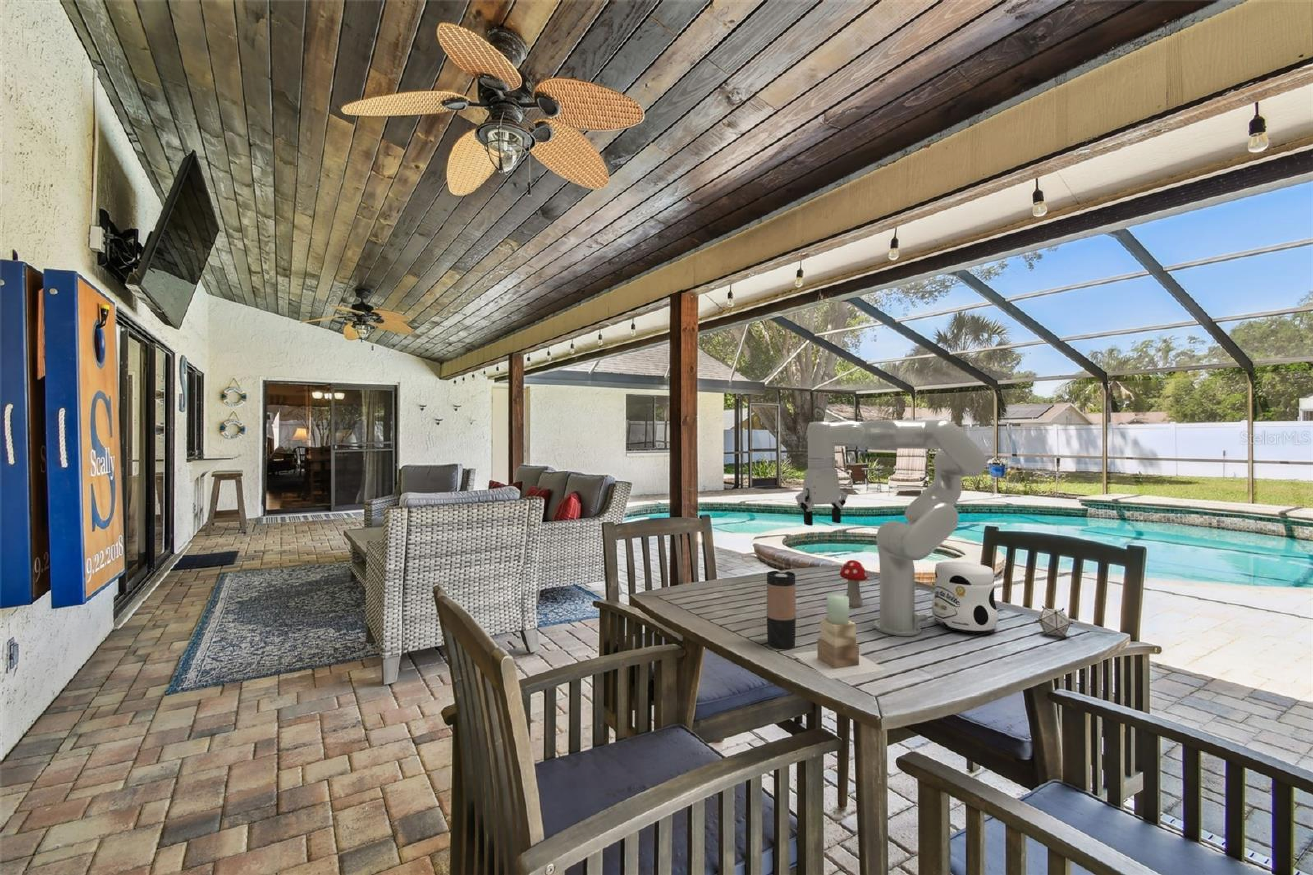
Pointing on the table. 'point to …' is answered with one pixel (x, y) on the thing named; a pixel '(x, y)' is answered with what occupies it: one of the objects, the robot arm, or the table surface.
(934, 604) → the milk container
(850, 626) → the tower top block
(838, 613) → the sage cylinder
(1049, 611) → the beige icosahedron ornament
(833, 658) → the tower base block
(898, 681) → the table surface
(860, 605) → the decorative mushroom
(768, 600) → the travel mug
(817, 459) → the robot arm
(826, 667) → the stone tile
